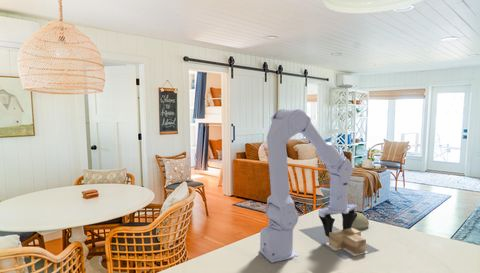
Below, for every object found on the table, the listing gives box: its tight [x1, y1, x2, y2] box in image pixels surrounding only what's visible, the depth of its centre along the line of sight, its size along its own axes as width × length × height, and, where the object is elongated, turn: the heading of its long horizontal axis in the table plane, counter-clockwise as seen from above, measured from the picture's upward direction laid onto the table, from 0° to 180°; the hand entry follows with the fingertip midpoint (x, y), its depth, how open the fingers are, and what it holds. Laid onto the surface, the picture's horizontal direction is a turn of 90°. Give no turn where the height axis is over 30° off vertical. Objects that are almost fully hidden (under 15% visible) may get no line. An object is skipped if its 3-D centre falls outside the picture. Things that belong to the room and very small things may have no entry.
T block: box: [329, 228, 367, 254], centre depth 95 cm, size 10×8×4 cm
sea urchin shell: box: [351, 211, 370, 230], centre depth 114 cm, size 9×8×8 cm
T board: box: [299, 225, 380, 260], centre depth 101 cm, size 14×23×1 cm, turn 24°
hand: (337, 234), depth 100 cm, fingers open, 7 cm apart
